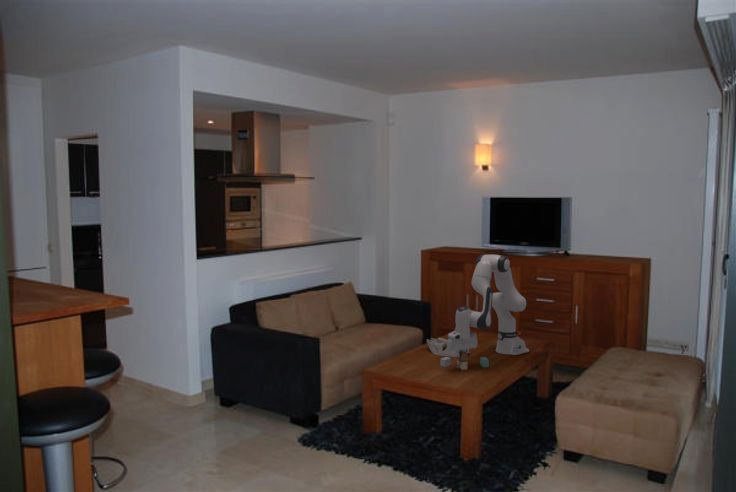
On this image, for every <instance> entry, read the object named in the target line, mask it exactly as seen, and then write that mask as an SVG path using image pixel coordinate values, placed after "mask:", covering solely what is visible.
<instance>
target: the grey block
mask: <svg viewBox="0 0 736 492" xmlns="http://www.w3.org/2000/svg"><path fill="white" fill-rule="evenodd" d="M439 361H440V365H439V366H440V367H442V368H446V367H449V366H452V365H451V364H452V363H451V362H452V357H445V356H443V357H442V358H440V360H439Z"/></svg>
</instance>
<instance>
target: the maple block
mask: <svg viewBox="0 0 736 492" xmlns="http://www.w3.org/2000/svg"><path fill="white" fill-rule="evenodd" d="M456 368H457V369H459V370H461V371H463V370H468V360H466V361H462V360H459V359H457V360H456Z"/></svg>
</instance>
